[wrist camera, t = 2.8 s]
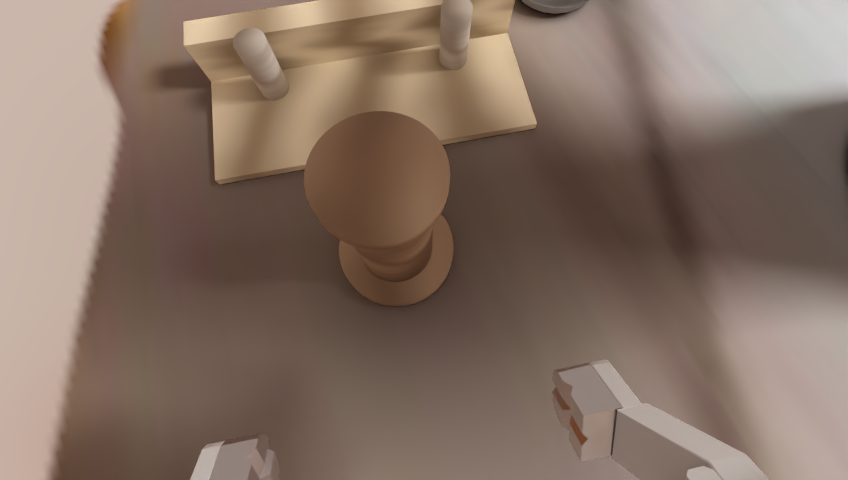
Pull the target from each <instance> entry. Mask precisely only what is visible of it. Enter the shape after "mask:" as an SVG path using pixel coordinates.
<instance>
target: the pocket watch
mask: <svg viewBox="0 0 848 480" xmlns="http://www.w3.org/2000/svg"><path fill="white" fill-rule="evenodd" d="M521 1H522V2H523V3H525V4H526V5H528V6H529V7H531V8H533V9H536V10H538V11H541V12H546V13H553V14H557V13H566V12H570V11H573V10H575V9H577V8H579V7H581V6H583V5H584V4H585V3H586V2H587V1H588V0H521Z"/></svg>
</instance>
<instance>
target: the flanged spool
mask: <svg viewBox="0 0 848 480" xmlns="http://www.w3.org/2000/svg"><path fill="white" fill-rule="evenodd" d="M449 185H450V165H449V160H448V157H447V154H446V151H445V149H444V147H443V145H442V143H441V142H440V140H439V139H438V138H437V136H436V135H435V134H434V133H433V132H432V131H431V130H430V129H429V128H428V127H426V126H425V125H424V124H422V123H421V122H419V121H417V120H415V119H413V118H411V117H409V116H406V115H403V114H400V113H395V112H388V111H372V112H365V113H360V114H356V115H354V116H351V117H348V118H346V119H344V120H342V121H340V122H338V123H337V124H335V125H334V126H332V127H331V128H330V129H329V130H327V131H326V132H325V133H324V134H323V135H322V136H321V137H320V138H319V140H318V141H317V142H316V144H315V145H314V147H313V148H312V150H311V152H310V154H309V157H308V159H307V162H306V166H305V171H304V189H305V194H306V198H307V200H308V203H309V205H310V207H311V209H312V211H313V213H314V214H315V215H316V217H317V218H318V219H319V221H320V222H321V224H322V225H323V226H324V227H325V228H326V229H327V230H328V231H329V232H330V233H331V234H332V235H334V236H335V237H336V238H338V239H339V240H340V242H339V259H340V264H341V267H342V269H343V272H344V274H345V276H346V278H347V279H348V280H349V282H350V283H351V284H352V286H353V287H354V288H355V289H356V290H357V291H358V292H359V293H360V294H361V295H363V296H364V297H365V298H367V299H369V300H370V301H372V302H375V303H377V304H380V305H384V306H390V307H403V306H409V305H413V304H416V303H418V302H421V301H423V300H424V299H426V298H428V297H429V296H431V295H432V294H433V293H434V292H435V291H436V290H437V289H438V288H439V287H440V286H441V285H442V283H443V282H444V281H445V279H446V277H447V275H448V273H449V270H450V267H451V263H452V259H453V251H454V243H453V236H452V233H451V230H450V227H449V225H448V223H447V221H446V220H445V218H444V216H443V215H442V214H441V213H442V211H443V209H444V207H445V204H446V201H447V198H448V193H449Z"/></svg>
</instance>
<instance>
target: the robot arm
mask: <svg viewBox="0 0 848 480" xmlns="http://www.w3.org/2000/svg"><path fill="white" fill-rule="evenodd" d="M553 382H554V384H555V386H556V388H555V389H554V390H553V391H552V393H553V403H554V408H555V411H556V414H557V416H558V419H559V421H560V423H561V425H562V426H563V427H565V428H566V429H568V430H570V434H569V440H570V442H571V444H572V446H573V448H574V450H575V452H576V453H577V455H578V457H579V459H580V461H581V462H584V461H589V460H594V459H599V458H604V457H609V456H612V458H613V459H614V460H615V461H617V462H618V463H619V464H621V465H622V466H623V467H624V468H626V469H627V470H628V471H630V472H631V473H632V474H634V475H635V476H636V477H637V478H639V479H640V480H769V479H768V478H767V477H766V476H765V474H764V473H763V472H762V471H761V470H760V469H759V468H758V467H757V466H756V465H755V464H754V463H753V461H752V460H751V459H750V458H749V457H748V456H747V455H746V454H744V453H742V452H740V451H738V450H736V449H734V448H732V447H731V446H729V445H727V444H725V443H723V442H721V441H719V440H717V439H715V438H713V437H711V436H709V435H708V434H706V433H704V432H702V431H700V430H698V429H696V428H694V427H692V426H690V425H688V424H687V423H685V422H683V421H681V420H679V419H677V418H675V417H673V416H671V415H669V414H667V413H665V412H664V411H662V410H660V409H658V408H656V407H654V406H652V405H650V404H648V403H645V404H642V403H641V402H640V401H639V399H638V398H637V397H636V396H635V394H634V393H633V392H632V390H631V389H630V388H629V387H628V385H627V384H626V383H625V381H624V380H623V379H622V378H621V376H620V375H619V374H618V372H617V371H616V370H615V369H614V367H613V366H612V365H611V363H610V362H609V361H607V360H606V359H604V360H599V361H594V362H590V363H584V364H580V365H575V366H571V367H567V368H562V369H558V370H554V372H553ZM268 446H269V440H268V438H267V436H266V434H257V435H252V436H247V437H241V438H236V439H231V440H225V441H221V442H216V443H211V444H207V445H206V446H205V447H204V448H203V449H202V451H201V453H200V455H199V458H198V461H197V463H196V466H195V468H194V471H193V473H192V476H191V478H190V480H279V462H278V458H277V456H276V454H275V452H274V451H272V450H270V449H268Z"/></svg>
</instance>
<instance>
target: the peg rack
mask: <svg viewBox="0 0 848 480" xmlns="http://www.w3.org/2000/svg"><path fill="white" fill-rule="evenodd" d="M514 3H515V0H319V1H312V2H306V3H300V4H293V5H287V6H280V7H274V8H268V9H261V10H255V11H249V12H242V13H236V14H229V15H223V16H217V17H210V18H204V19H198V20H191V21H185V22H184V46H185V48H186V49H187V50H188V52H189V53H190V54H191V56H192V57H193V58H194V60H195V61H196V62H197V64H198V65H199V66H200V68H201V69H202V70H203V72H204V73H205V74H206V76H207V77H208V78H209V80H210V81H211V90H212V116H213V142H214V168H215V181H216V182H217V183H218V184H225V183H230V182H236V181H241V180H247V179H253V178H258V177H264V176H270V175H275V174H281V173H287V172H292V171H298V170H304V169H305V166H306V162H307V159H308V157H309V154H310V152H311V150H312V148H313V147H314V145H315V144H316V142H317V141H318V140H319V138H320V137H321V136H322V135H323V134H324V133H325V132H326V131H327V130H329V129H330V128H331V127H332V126H334V125H335V124H337V123H338V122H340V121H342V120H344V119H346V118H348V117H351V116H354V115H356V114H360V113H365V112H372V111H388V112H395V113H400V114H403V115H406V116H409V117H411V118H413V119H415V120H417V121H419V122H421V123H422V124H424V125H425V126H426V127H428V128H429V129H430V130H431V131H432V132H433V133H434V134H435V135H436V136H437V138H438V139H439V140H440V142H441V143H442V145H445V144H450V143H456V142H461V141H467V140H473V139H478V138H484V137H490V136H495V135H501V134H507V133H512V132H518V131H524V130H529V129H535V127H536V125H537V122H536V119H535V116H534V113H533V110H532V107H531V104H530V101H529V98H528V95H527V91H526V88H525V85H524V82H523V79H522V76H521V73H520V70H519V67H518V64H517V61H516V58H515V55H514V52H513V48H512V45H511V42H510V39H509V36H508V29H509V24H510V20H511V16H512V12H513V7H514Z"/></svg>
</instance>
